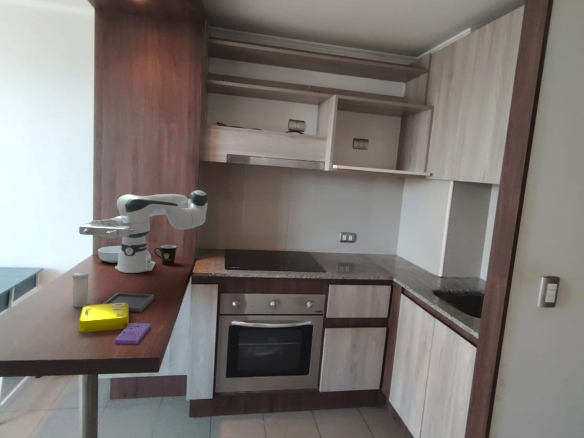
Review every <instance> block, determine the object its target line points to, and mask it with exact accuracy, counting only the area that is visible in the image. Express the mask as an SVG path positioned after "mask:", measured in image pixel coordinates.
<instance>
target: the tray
mask: <svg viewBox="0 0 584 438" xmlns="http://www.w3.org/2000/svg"><path fill="white" fill-rule="evenodd" d="M154 299H155V294H149V293H148V294H146V293H129V292H117V293H115V294H114V295H112V296H111V297H110V298H108V299H107V300H106V301H104V302H103V303H102V304H112V303H127V304H128V308H129V313H141V312H142V311H144V309H145V308H146V307H147V306H148V305H149V304H150V303H151V302H152V301H153V300H154Z"/></svg>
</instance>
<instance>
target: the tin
mask: <svg viewBox="0 0 584 438" xmlns="http://www.w3.org/2000/svg"><path fill="white" fill-rule="evenodd" d="M71 278H72V307H74V308H83V307H84V306H86V305H89V273H88V272H76V273H75V272H74V273H73V274H72V275H71Z"/></svg>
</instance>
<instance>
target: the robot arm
mask: <svg viewBox="0 0 584 438" xmlns="http://www.w3.org/2000/svg"><path fill="white" fill-rule="evenodd" d="M209 200H210V199H209V194H208V193H207V192H205V191H203V190H201V189H195V190H192V191H191V192H190V193H189V196H188V197H187V196H186V195H184V194H180V193H179V194H178V193H177V194H176V193H163V194H160V193H159V194H152V195H135V194H130V193H129V194H128V193H127V194H123V195H121V196H120V197H119V198H118V199H117V200H116V208H117V210H118V212H119V215H118V216H115V217H111V218H106V219H96V220H95V219H94V220H91V221H90V222H86V223H84V224H81V225H79V228H78V230H79V231H78V233H79V234H80V235H84V236H99V237H102V238H107V239H116V238H118V237H120V238H121V240H122V241H121V244H120V246H121V250H122V251H121V252H120V253H119V255H118V263H117V265H115V266H114V269H115V270H118V271H119V273H120V272H121V273H125V274H126V273H128V274H129V273H131V274H135V273H136V274H137V273H143V272H151V271H153V269H154V267H155V265H156V262H155V261H152V255H151V253H150V252H149V250H148V245H149V242H148V241H146V236H147V235H148V234H149V233H150V232H151V225H150V217H155V216H162V215H166V218H167V220H168V222H169V224H170V225H171V226H172V227H173V228H174V229H176V230H179V231H181V230H184V231H185V230H190V229H200V228H202V226H203V225H204V223H205V222H206V219H207V211H208V205H209Z"/></svg>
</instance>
